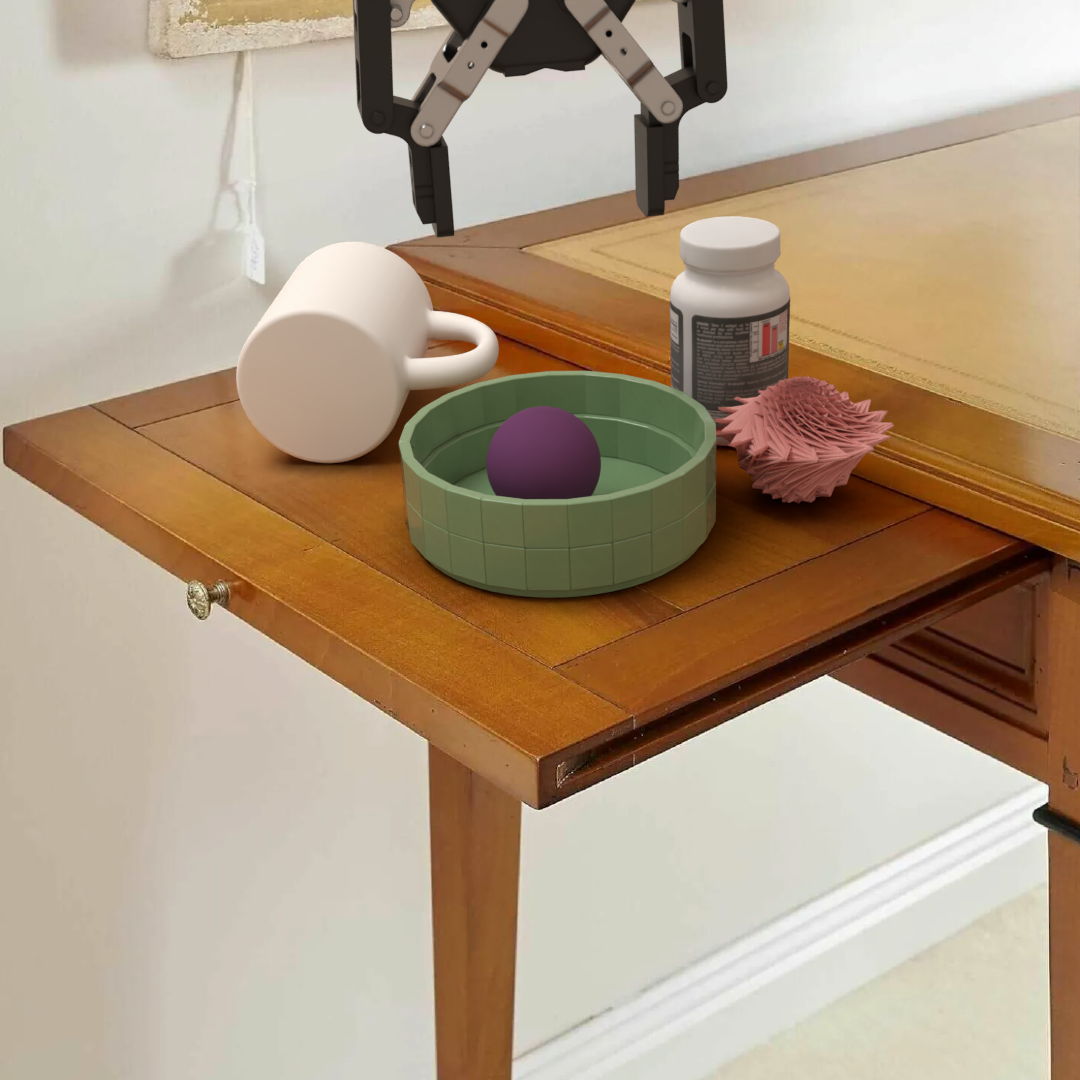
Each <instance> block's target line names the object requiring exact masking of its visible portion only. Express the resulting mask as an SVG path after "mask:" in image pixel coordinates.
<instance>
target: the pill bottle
mask: <svg viewBox="0 0 1080 1080" xmlns="http://www.w3.org/2000/svg"><path fill="white" fill-rule="evenodd" d="M781 253H782V251H781V230H780V228H779V227H778V226H777V225H776V224H774V223H773V222H770V221H768V220H765V219H761V218H756V217H751V216H750V217H749V216H741V215H740V216H739V215H737V216H736V215H733V216H731V215H729V216H728V215H727V216H725V215H724V216H714V217H709V218H702V219H698V220H695V221H693V222H691V223H689V224H687V225H686V226H684V227H683V228H682V229H681V231H680V233H679V257H680V259H681V261H682V262H683V265H684V266H685V269H684V270H683V271H682V272H681V273H679V274H678V275H677V277H676V278H675V279H674V281H673V282H672V284H671V287H670V294H669V295H670V296H669V321H670V322H669V324H670V325H669V326H670V327H669V329H670V331H669V332H670V339H669V340H670V387H672V388H674V389H677V390H679V391H682V392H684V393H686V394H687V395H689V396H690V397H692V398H693V399H695V400H696V401H697V402H699V403H700V404H702V405H703V406H704V407H705V408H706V409H707V411H708V412H709V414H710V415H711V417H712V418H713V420H715V419H723V418H726V417H728V416H730V414H728V413H726V412H723V411H720V410H719V409H718V407H735V406H740V405H743V404H742V403H741V402H739V401H737V400H734V398H735V397H740V398H753V397H757V396H759V395H760V393H759V392H758V390H763V391H764V390H766V389H767V387H768V386H774V385H775V384H777V383H778V382H779V381H780V380H784V379H789V370H790V369H789V366H790V365H789V363H790V361H789V360H790V321H791V292H790V291H791V290H790V286H789V282H788V281H787V279H786V278H785V276H784V275H783V274H782V273H781V272H780V271H778V270H777V269H776V268H775V263H776V262H777V261H778V260H779V258H780V257H781ZM715 423H716V431H722V430H723V429H724V428H725V427H723V426H722V425H721V424H719V423H717V422H715ZM729 444H731V442H729V441H728V440H726V439H724V438H722V437H721V436H719V435H716V446H718V447H730V446H729Z"/></svg>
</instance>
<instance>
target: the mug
mask: <svg viewBox="0 0 1080 1080" xmlns="http://www.w3.org/2000/svg"><path fill="white" fill-rule="evenodd" d="M431 341H459V342H460V341H461V342H465V343H466V342H467V343H471V344H473V345H475V346H476V347H475V348H474V349H472V350H470V351H467V352H463V353H459V354H454V355H453V354H452V355H447V356H437V357H425V356H426V355H427V354H426V353H427V351H428V349H429V347H430V345H431ZM499 345H500V344H499V341H498V338H497V335H496V333H495V332H494V331H493V330H492V329H491V328H490V326H488V325H487V324H485V323H484V322H481V321H479V320H478V319H475V318H473V317H470V316H467V315H465V314H464V315H463V314H460V313H455V312H449V311H440V310H434V306H433V303H432V299H431V296H430V293H429V291H428V288H427V286H426V284H425V283H424V281H423V279H422V278H421V276H420V275H419V274H418V272H417V271H416V270H415V269H414V268H413V267H412V266H411V265H410V264H409V263H408V262H407V261H406V260H405V259H404V258H402V257H400V256H399V255H397V254H396V253H395V252H393V251H391V250H389V249H387V248H385V247H382V246H379V245H377V244H373V243H369V242H364V241H344V242H337V243H332V244H328V245H326V246H323V247H321V248H319V249H317V250H316V251H314V252H312V253H310V254H309V255H308V256H307V257H306V258H304V259H303V260H302V261H301V262H300V263H299V264H298V265H297V267H296V268H295V270H294V271H293V272H292V274H291V275H290V277H288V280H287V281H286V282H285V284H284V285H283V286H282V288H281V289H280V291H279V292H278V294H277V295H276V297H275V298H274V300H273V301H272V303H271V304H270V305H269V307H268V308H267V310H266V311H265V312H264V314H263V315H262V317H261V318H260V319H259V322H258V323H257V324H256V325H255V327H254V328H253V330H252V332H251V333H250V334H249V336H248V337H247V339H246V340H245V342H244V344H243V346H242V348H241V350H240V353H239V356H238V360H237V363H236V372H235V373H236V374H235V376H236V377H235V381H236V389H237V394H238V398H239V401H240V404H241V407H242V409H243V411H244V414H245V415H246V417H247V419H248V420H249V422H250V423H251V425H252V426H253V428H254V429H255V430H256V431H257V432H258V433H259V435H261V436H262V437H263V439H265V440H266V441H267V442H268V443H270V444H271V445H272V446H274V447H275V448H276V449H278V450H280V451H282V452H284V453H285V454H287V455H290V456H292V457H294V458H296V459H300V460H304V461H307V462H312V463H319V464H335V463H337V464H338V463H344V462H349V461H353V460H355V459H359V458H360V457H362V456H364V455H367V454H368V453H370V452H372V451H373V450H375V449H376V448H377V447H379V445H381V444H382V443H383V442H384V441H385V440H386V439H387V437H389V435H390V434H391V432H392V431H393V429H394V427H395V426H396V424H397V421H398V420H399V417H400V414H401V412H402V410H403V408H404V406H405V404H406V401H407V398H408V396H409V394H410V392H411V391H420V390H434V389H442V388H449V387H455V386H459V385H463V384H467V383H471V382H474V381H476V380H478V379H481V378H483V377H485V376H486V375H488V374H489V373H490V372H491V371H492V370H493V368H495V365H496V363H497V361H498V359H499V354H500V353H499V351H500V347H499Z"/></svg>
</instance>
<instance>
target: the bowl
mask: <svg viewBox="0 0 1080 1080" xmlns="http://www.w3.org/2000/svg"><path fill="white" fill-rule="evenodd" d="M539 406H549V407H556V408H559V409H562V410H565V411H568V412H570V413H571V414H573V415H575V416H576V417H578V418H579V419H580V420H581V421H583V422H584V423H585V424H586V426H587V427H588V428H589V429H590V431H591V432H592V434H593V435H594V437H595V439H596V442H597V444H598V447H599V451H600V456H601V472H600V477H599V481H598V483H597V486H596V488H595V490H594V492H593V494H592V496H588V497H580V498H572V499H519V498H511V497H503V496H496V495H495V493H494V491H493V490H492V487H491V485H490V483H489V479H488V475H487V468H486V459H487V452H488V448H489V445H490V442H491V440H492V438H493V436H494V434H495V433H496V431H497V430H498V428H499V427H500V426H501V425H502V424H503V423H504V422H505V421H506V420H507V419H508V418H510V417H511V416H513V415H514V414H516V413H518V412H520V411H522V410H525V409H528V408H532V407H539ZM398 453H399V462H400V472H401V482H402V491H403V492H402V494H403V502H404V514H405V515H404V516H405V524H406V527H407V532H408V536H409V540H410V543H411V544H412V545H413V546H414V547H415V549H416V550H417V551H418V552H419V553H420V555H422V556H423V558H424V559H425V560H427V561H428V562H429V563H430V564H431V565H432V566H433V567H434V568H435V569H436V570H438V571H440V573H443V574H444V575H446V576H448V577H450V578H451V579H454V580H456V581H458V582H460V583H463V584H466V585H468V586H471V587H474V588H478V589H481V590H485V591H488V592H491V593H497V594H503V595H508V596H515V597H518V596H519V597H525V598H541V599H542V598H545V599H547V598H548V599H550V598H551V599H555V598H556V599H558V598H578V597H586V596H594V595H601V594H606V593H607V594H608V593H612V592H617V591H621V590H625V589H630V588H632V587H636V586H638V585H641V584H642V585H643V584H645V583H648V582H650V581H652V580H655V579H657V578H659V577H661V576H664V575H666V574H667V573H669V572H671V571H673V570H675V569H677V568H678V567H679V566H681V565H682V564H684V563H685V562H686V561H688V560H689V559H690V558H691V557H692V556H693V555H694V554H695V553H696V552H697V551H698V549H700V547H701V546H702V545H703V544H704V543H705V541H706V540H707V538H708V537H709V534H710V532H711V531H712V529H713V528H714V525H715V523H716V520H717V519H716V518H717V445H716V423H715V421H714V420H713V418H712V417H711V415H710V414H709V412H708V411H707V409H706V408H705V407H704V406H703V405H702V404H700V403H699V402H697V401H696V400H695V399H693V398H692V397H690V396H689V395H687V394H686V393H684V392H682V391H679V390H677V389H674V388H672V387H671V386H669V385H667V384H664V383H661V382H660V381H659V382H658V381H656V380H652V379H647V378H643V377H639V376H638V377H637V376H633V375H629V374H623V373H614V372H603V371H595V370H594V371H593V370H545V371H538V372H529V373H527V372H526V373H521V374H520V373H518V374H512V375H511V374H510V375H506V376H501V377H497V378H493V379H489V380H488V379H487V380H484V381H480V382H476V383H473V384H470V385H468V386H464V387H462V388H459V389H456V390H454V391H451V392H448V393H445V394H444V395H442V396H440V397H438V398H437V399H435V400H433V401H431V402H430V403H428V404H426V405H424V406H423V407H421V408H420V409H419V410H418V411H416V413H415V414H414V415H413V416H412V417H410V419H409V420H408V421H407V422H406V423H405V424H404V426H403V429H402V432H401V434H400V437H399V440H398Z"/></svg>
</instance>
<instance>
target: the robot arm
mask: <svg viewBox="0 0 1080 1080" xmlns="http://www.w3.org/2000/svg"><path fill="white" fill-rule="evenodd" d="M415 1H416V0H352V14H353V15H352V16H353V18H352V19H353V37H354V38H353V39H354V63H355V88H356V106H357V109H358V112H359V116H360V118H361V121H362V124H363V127H364V128H365V129H366V130H367V131H368V132H369V133H372V134H374V135H382V134H386V135H389V136H393V137H397V138H400V139H402V140H403V141H404V142H405V143H406V144H407V151H408V164H409V174H410V185H411V186H410V187H411V197H412V205H413V207H414V209H415V212H416V214H417V217H418V218H419V220H420V222H421V224H422V225H430V224H431V226H432V230H433V233H434V235H435V237H436V238H437V239H438V238H446V237H447V238H448V237H454V236H455V223H454V222H455V221H454V209H453V196H452V195H453V194H452V183H451V182H452V181H451V169H450V158H449V146H448V144H447V142H446V140H445V138H444V136H443V135H444V133H445V132H446V130H447V128H448V127H449V125H450V124H451V122H452V121H453V119H454V117H455V116H456V115H457V113H458V111H459V110H460V108H461V107H462V105H463V104H464V103H465V102H466V101H468V99H470V98H471V96H473V93H474V92H475V90H476V89H477V87H478V86H479V84H480V82H481V81H482V79H483V78H484V76H485V74H486V73H487V71H488V70H490V71H493V72H495V73H498V74H502V75H503V76H504V78H514V77H525V76H529V75H530V74H533V73H536V72H538V71H541V70H544V69H547V70H548V69H549V70H553V71H554V70H555V71H560V72H564V73H568V72H578V71H586V66H588V65H590V64H591V63H593V62H595V61H596V60H597V59H599V57H600V56H602V57H603V59H604V60H605V61H606V62H607V64H608V65H609V66H610V67H611V68H612V69H613V71H614V72H615V73H616V74H617V76H619V78H620V79H621V80H622V82H623V83H624V84H625V86H627V88H628V89H629V90H630V91H631V92H632V94H633V95H634V96H635V98H636V99H637V100H638V102H639V103H640V105H639V107H640V113H638V114H637V113H635V114H633V128H634V129H633V130H634V131H633V132H634V134H633V135H634V176H635V179H634V181H635V200H636V205H637V208H638V210H640V211H641V213H642V214H643V216H644V217H646V218H647V217H648V218H649V217H657V216H664V215H665V210H666V207H665V206H666V201H674V200H675V199H676V196H677V193H678V191H679V189H680V163H679V162H680V132H679V130H680V128H679V127H680V123H681V121H682V119H683V117H684V116H685V114H686V113H688V112H689V111H691V110H693V109H695V108H697V107H699V106H701V105H703V104H706V103H707V104H715V103H718V102H720V101H722V100H723V99H724V97H725V96H726V94H727V92H728V85H729V84H728V67H727V49H726V47H727V46H726V29H725V13H724V11H725V9H724V8H725V7H724V0H671V1H672V2H674V3H676V5H677V20H678V37H679V38H678V39H679V50H680V51H679V52H680V66H681V67H680V69H678V70H676V71H674V72H671V73H670V74H667V75H665V76H663V75H662V72H660V70H659V69H658V68H657V67H656V66H655V64H654V63H653V61H652V59H650V57H649V56H648V54H647V53H646V52H645V51H644V49H643V48H642V46H640V44H639V43H638V41H636V40H635V38H634V37H633V36H632V34H631V33H630V32H629V30H628V29H627V28H626V27H625V26H624V24H623V22H624V20H625V18H626V16H627V15H628V14H629V12H630V10H631V9H632V7H633V6H634V4H635V3H636V0H430V2H431V4H432V5H433V6H434V8H435V9H436V10H437V11H438V12H439V14H440V15H441V16H442V17H443V18H444V19H445V21H446V22H447V23H448V24H449V26H450V27H451V30H450V32H449V33H448V35H447V37H446V38H445V39H444V41H443V43H441V45H440V48H439V49H438V51H437V52H436V54H435V55H434V56H433V57H434V58H433V59H432V61H431V63H430V67H429V70H428V72H427V73H426V75H425V77H424V78H423V80H422V82H421V83H420V85H419V87H418V88H417V90H416V92H414V95H413V96H412V98H411V99H409V98H406V97H405V98H404V97H401V96H397V95H394V76H393V75H394V74H393V44H392V42H393V40H392V29H396V28H400V27H403V26H404V25H405V24H407V22H408V20H409V19H410V16H411V9H412V6H413V4H414V3H415ZM471 63H472V64H471Z"/></svg>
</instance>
